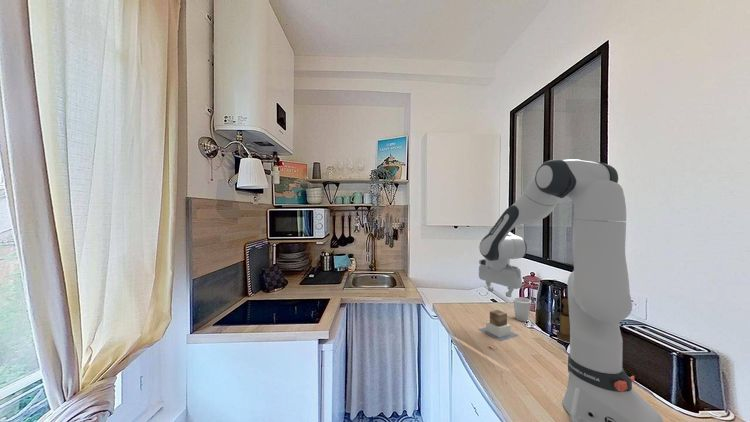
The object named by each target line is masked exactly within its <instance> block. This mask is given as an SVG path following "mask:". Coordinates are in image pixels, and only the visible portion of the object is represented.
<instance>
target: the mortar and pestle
mask: <svg viewBox="0 0 750 422" xmlns="http://www.w3.org/2000/svg"><path fill="white" fill-rule="evenodd" d="M561 304H562V305H563V308H562V312H560V313H559V314H560V315H559V316H560V317H559V331H560V332H559V331H557V332H558V333H557V332H556V333H557V337H556V338H557V339H559V340H560V341H563V342H569V343H570V319H569V305H568V297H567V298H566V297H563V298H562V299H561Z"/></svg>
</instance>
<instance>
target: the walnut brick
mask: <svg viewBox="0 0 750 422" xmlns="http://www.w3.org/2000/svg"><path fill="white" fill-rule="evenodd" d="M489 321H490V323H492V324H494V325H496V326H498V327H500V326H504V325H507V324H508V313H507V312H505V311H501V310H499V309H495V310H491V311H489Z"/></svg>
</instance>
